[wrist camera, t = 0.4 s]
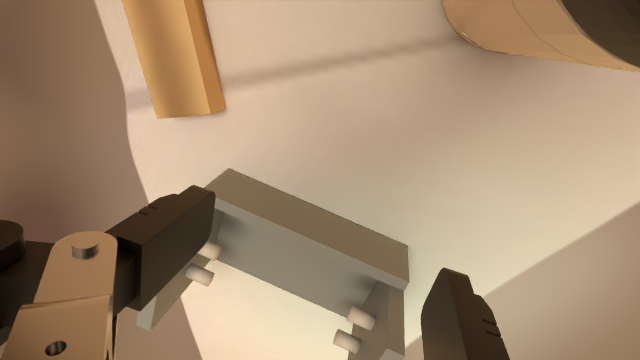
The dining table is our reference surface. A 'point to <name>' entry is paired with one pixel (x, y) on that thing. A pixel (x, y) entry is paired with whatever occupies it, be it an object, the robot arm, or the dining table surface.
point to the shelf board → (176, 56)
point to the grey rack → (302, 263)
